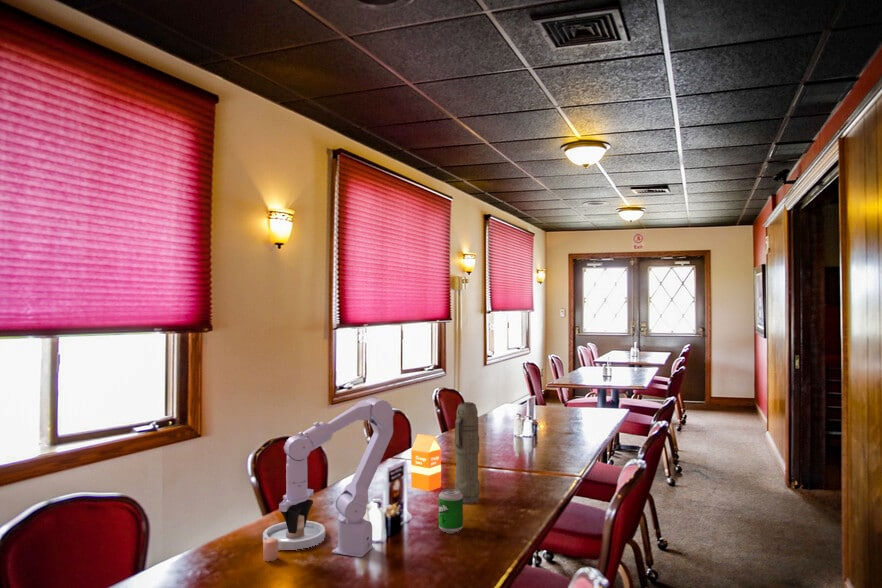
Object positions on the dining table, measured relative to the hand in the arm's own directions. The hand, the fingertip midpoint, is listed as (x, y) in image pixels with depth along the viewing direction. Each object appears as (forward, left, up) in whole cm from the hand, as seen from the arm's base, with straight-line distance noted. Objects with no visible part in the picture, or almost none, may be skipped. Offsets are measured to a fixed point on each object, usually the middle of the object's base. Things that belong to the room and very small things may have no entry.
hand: (296, 529), depth 175 cm
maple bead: (0, 0, -1) cm, 1 cm away
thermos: (-29, -66, -9) cm, 73 cm away
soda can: (-33, -36, -9) cm, 50 cm away
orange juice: (-9, -77, -9) cm, 78 cm away
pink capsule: (+7, +2, -8) cm, 11 cm away
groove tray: (+9, -13, -8) cm, 18 cm away
